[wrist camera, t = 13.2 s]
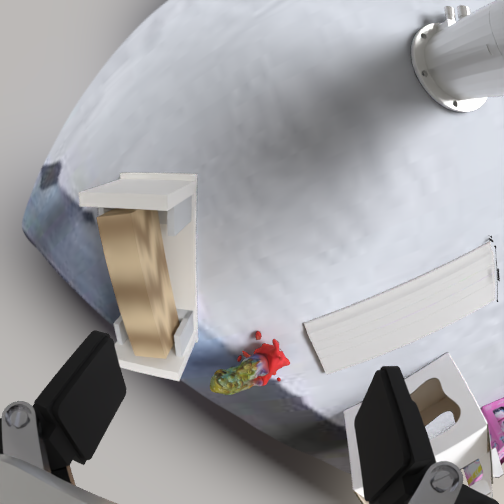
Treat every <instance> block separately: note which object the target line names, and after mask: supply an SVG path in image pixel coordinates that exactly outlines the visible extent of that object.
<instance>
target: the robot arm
mask: <svg viewBox="0 0 504 504" xmlns="http://www.w3.org/2000/svg"><path fill="white" fill-rule="evenodd" d="M444 9H445V15H446V20H445V22H443V23H432V24H428V25H426V26H424V27H423V28H421V29H420V30H419V31H418V32H417V33H416V35H415V36H414V39H413V41H412V46H411V58H412V63H413V67H414V70H415V73H416V75H417V77H418V79H419V81H420V83H421V84H422V86H423V87H424V89H425V90H426V91H427V92H428V94H429V95H430V96H431V97H432V98H433V99H434V100H436V101H437V102H438V103H439V104H441V105H442V106H444V107H446V108H448V109H450V110H453V111H457V112H470V111H474V110H476V109H478V108H479V107H480V106H482V105H483V104H484V102H485V101H486V99H487V98H489V97H499V96H504V0H495V1H493V2H491V3H489V4H488V5H486V6H484V7H482V8H480V9H478V10H476V11H474V12H473V13H471V12H470V9H469V8H468V7H466V6H462V5H460V6H458V7H457V10H458V17H459V20H458V21H457V22H456V21H455V11H454V8H452V7H450V6H446V7H445V8H444ZM422 74H423V75H422ZM125 395H126V386H125V383H124V379H123V376H122V372H121V368H120V365H119V361H118V357H117V353H116V349H115V345H114V341H113V339H111V338H110V336H109V334H107V333H103V332H99V331H93V332H91V334H90V335H89V336H88V337H87V338H86V339H85V340H84V342H83V343H82V344H81V345H80V346H79V348H78V349H77V350H76V351H75V352H74V353H73V355H72V356H71V357H70V358H69V359H68V360H67V362H66V363H65V364H64V365H63V367H62V368H61V369H60V370H59V371H58V373H57V374H56V375H55V376H54V378H53V379H52V380H51V381H50V382H49V384H48V385H47V386H46V388H45V389H44V390H43V391H42V393H41V394H40V395H39V397H38V398H37V399H36V400H35V402H34V403H35V404H34V405H33V406H31V405H30V404H29V403H27V402H24V401H17V402H13V403H11V404H10V405H8V406H7V407H6V408H5V410H4V411H3V413H2V418H0V504H117V503H114V502H112V501H109V500H107V499H104V498H102V497H99V496H97V495H95V494H92V493H90V492H88V491H86V490H83V489H81V488H79V487H77V486H76V485H75V482H74V478H73V475H72V472H71V468H70V463H71V461H72V460H74V461H76V462H78V463H81V464H83V465H84V464H85V462H86V460H90V459H91V458H92V456H93V454H94V452H95V450H96V449H97V447H98V445H99V443H100V441H101V439H102V437H103V435H104V434H105V432H106V430H107V428H108V426H109V424H110V422H111V420H112V419H113V417H114V415H115V413H116V411H117V410H118V408H119V406H120V404H121V402H122V401H123V399H124V397H125ZM354 427H355V433H356V440H357V446H358V453H359V460H360V467H361V475H362V483H363V491H364V498H365V500H366V501H369V504H499V503H498V502H497V501H496V500H494V499H492V498H490V497H488V496H486V495H484V494H482V493H480V492H478V491H476V490H474V489H472V488H470V487H468V486H466V485H464V484H462V483H463V475H462V472H461V470H460V469H459V468H458V466H457V465H455V464H453V463H452V462H448V461H440V462H437V463H436V459H435V456H434V453H433V450H432V447H431V444H430V441H429V438H428V435H427V432H426V429H425V426H424V423H423V420H422V417H421V415H420V412H419V409H418V406H417V404H416V403H415V402H414V401H412V399H411V396H410V393H409V391H408V388H407V386H406V383H405V380H404V378H403V375H402V373H401V370H400V368H399V367H398V366H383V367H382V368H381V369H380V370H377V371H376V373H375V375H374V377H373V380H372V382H371V384H370V386H369V389H368V391H367V393H366V395H365V398H364V400H363V402H362V404H361V406H360V408H359V410H358V412H357V415H356V417H355V420H354Z"/></svg>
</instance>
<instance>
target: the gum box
mask: <svg viewBox="0 0 504 504" xmlns="http://www.w3.org/2000/svg"><path fill="white" fill-rule="evenodd" d="M481 411H482V413H483V415H484V417H485V419H486V421H487V423H488V428H489V434H490V442H491V450H492V449H494V448H495V447H496V450H497V453H498V456H499V460H500V463H501V465H502V463H503V462H504V398H502V399H499V400H497V401H495V402H492V403H490V404H488V405H486V406H483V407H482V409H481ZM463 469H464V472H465V475H466V478H467V482H468V485H469V486H471V485H473V484H474V483H475V482H477V481H479V480H481V479H482V476H483V469H482V467H481V464H480V461H479V459H478V460H476V461H475V462H473V463H471V464H470V465H468V466H466V467H465V468H463Z"/></svg>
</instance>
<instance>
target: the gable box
mask: <svg viewBox="0 0 504 504" xmlns="http://www.w3.org/2000/svg"><path fill="white" fill-rule="evenodd" d="M404 380H405V383H406V386H407V388H408V391H409V393H410V396H411V399H412V401H414V402H415V403H416V404H417V406H418V409H419V412H420V415H421V417H422V420H423V423H424V426H426V425H428V424H429V423H430V422H431V421H433V420H434V419H435V418H436V417H438V416H439V415H440V414H442V413H444V412H446V411H451V412H452V413H453V415H454V420H455V422H456V423H455V424H454V425H453V426H452V427H451V428H450V429H448V430H447V431H445V432H444V433H442V434H440V435H438V436H436V437H434V438H432V439H429V441H430V444H431V447H432V450H433V453H434V456H435V459H436V463H437V462H440V461H448V462H452V463H453V464H455V465H457V466H458V468H459V469H460V470H461V469H463V468H465V467H466V466H468V465H470V464H471V463H473V462H475V461H476V460H478V459H479V461H480V464H481V467H482V469H483V476H482V479H481V480H479V481H477V482H475V483H474V484H473V485H471V486H469V487H470V488H472V489H474V490H476V491H478V492H480V493H482V494H484V495H486V496H488V497H490V498H492V496H493V494H492V485H491V481H492V484H493V477H495V478H499V477H501V476H502V475H503V470H502V467H501V463H500V460H499V456H498V453H497V450H496V447H495V448H494V449H492V450H491V442H490V434H489V428H488V423H487V421H486V419H485V417H484V415H483V413H482V411H481V409H480V407H479V405H478V403H477V402H476V400H475V398H474V396H473V394H472V392H471V390H470V388H469V387H468V385H467V383H466V381H465V379H464V378H463V376H462V374H461V372H460V371H459V369H458V367H457V366H456V364H455V362H454V361H453V359H452V357H451V356H450V354H449V353H445V354H444V355H442V356H441V357H439V358H438V359H436V360H435V361H433V362H432V363H430V364H429V365H427V366H426V367H424V368H422V369H421V370H419V371H417V372H416V373H414V374H413V375H411V376H409V377H407V378H406V379H404ZM361 404H362V402H361V403H359V404H357V405H355V406H353V407H351V408H348V409H346V410H344V411H343V413H344V420H345V427H346V434H347V442H348V450H349V458H350V467H351V476H352V485H353V491H354V493H355V494H356V496H357V497H358V499H359V500H360V502H361V503H362V504H369V501H366V500H365V498H364V491H363V483H362V475H361V467H360V460H359V453H358V446H357V440H356V433H355V427H354V420H355V417H356V415H357V412H358V410H359V408H360V406H361Z"/></svg>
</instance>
